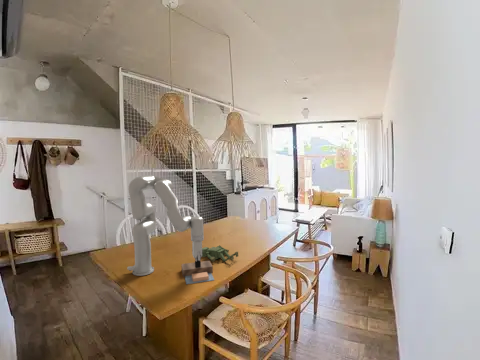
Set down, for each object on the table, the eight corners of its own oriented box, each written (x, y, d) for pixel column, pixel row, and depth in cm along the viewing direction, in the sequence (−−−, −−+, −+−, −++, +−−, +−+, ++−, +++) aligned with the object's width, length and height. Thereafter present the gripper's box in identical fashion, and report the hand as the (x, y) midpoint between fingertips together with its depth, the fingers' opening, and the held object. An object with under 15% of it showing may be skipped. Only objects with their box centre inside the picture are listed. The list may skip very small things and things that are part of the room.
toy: (242, 256, 184) (208, 252, 199) (242, 246, 184) (207, 243, 198) (227, 267, 166) (191, 261, 180) (227, 255, 166) (190, 251, 180)
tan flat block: (191, 274, 151) (191, 277, 151) (193, 278, 145) (193, 281, 145) (206, 271, 154) (206, 275, 154) (208, 276, 148) (208, 279, 148)
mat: (186, 284, 143) (186, 283, 143) (184, 276, 153) (184, 276, 153) (214, 280, 148) (214, 279, 148) (211, 273, 157) (211, 272, 157)
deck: (182, 276, 153) (182, 270, 152) (181, 270, 162) (181, 264, 162) (212, 272, 158) (212, 266, 158) (209, 266, 167) (209, 260, 167)
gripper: (189, 234, 160) (190, 263, 161) (192, 241, 146) (193, 273, 147) (201, 233, 162) (202, 261, 164) (205, 240, 148) (206, 271, 149)
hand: (197, 267), depth 155 cm, fingers closed
